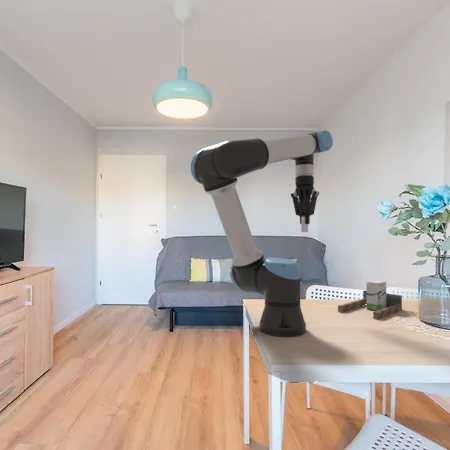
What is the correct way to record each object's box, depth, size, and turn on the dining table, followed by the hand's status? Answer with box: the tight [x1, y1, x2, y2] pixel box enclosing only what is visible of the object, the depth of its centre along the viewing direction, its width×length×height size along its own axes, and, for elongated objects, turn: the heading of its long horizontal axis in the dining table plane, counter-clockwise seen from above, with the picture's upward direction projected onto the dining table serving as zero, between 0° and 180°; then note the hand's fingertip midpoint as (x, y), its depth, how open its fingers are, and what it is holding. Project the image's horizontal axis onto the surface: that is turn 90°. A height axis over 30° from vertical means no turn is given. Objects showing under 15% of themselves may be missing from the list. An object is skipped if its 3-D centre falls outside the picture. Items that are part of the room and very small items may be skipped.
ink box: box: [365, 279, 387, 312], centre depth 142 cm, size 9×5×12 cm, turn 130°
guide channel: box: [337, 290, 403, 320], centre depth 139 cm, size 24×16×6 cm
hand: (304, 232), depth 141 cm, fingers closed
